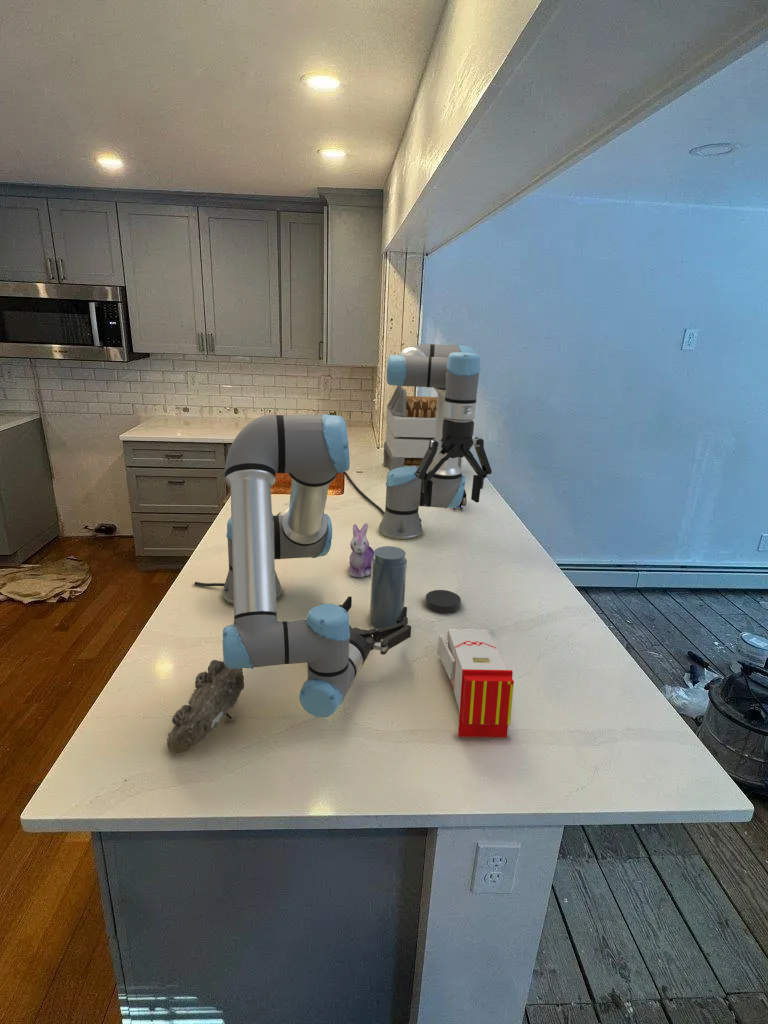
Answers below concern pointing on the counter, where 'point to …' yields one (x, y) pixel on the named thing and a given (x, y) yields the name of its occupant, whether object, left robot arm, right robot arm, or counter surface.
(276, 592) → the left robot arm
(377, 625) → the jar
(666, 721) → the counter surface
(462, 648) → the toy
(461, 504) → the figurine character
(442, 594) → the lid
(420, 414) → the white slatted crate
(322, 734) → the counter surface
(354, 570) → the figurine
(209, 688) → the fossil
